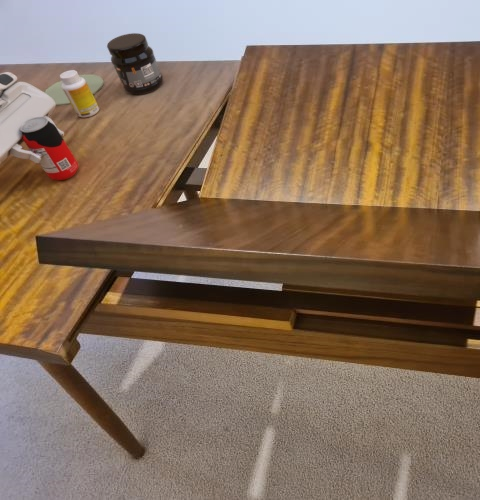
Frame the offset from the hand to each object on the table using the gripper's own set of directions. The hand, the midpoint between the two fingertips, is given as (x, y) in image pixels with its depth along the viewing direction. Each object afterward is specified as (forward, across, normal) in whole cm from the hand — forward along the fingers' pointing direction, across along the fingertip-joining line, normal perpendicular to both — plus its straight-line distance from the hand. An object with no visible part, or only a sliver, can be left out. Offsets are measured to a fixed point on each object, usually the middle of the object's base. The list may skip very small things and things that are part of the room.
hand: (52, 148), depth 92 cm
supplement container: (+5, +38, +5) cm, 38 cm away
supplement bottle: (-2, +24, +12) cm, 27 cm away
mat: (-10, +36, +19) cm, 42 cm away
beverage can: (+4, 0, +5) cm, 7 cm away
